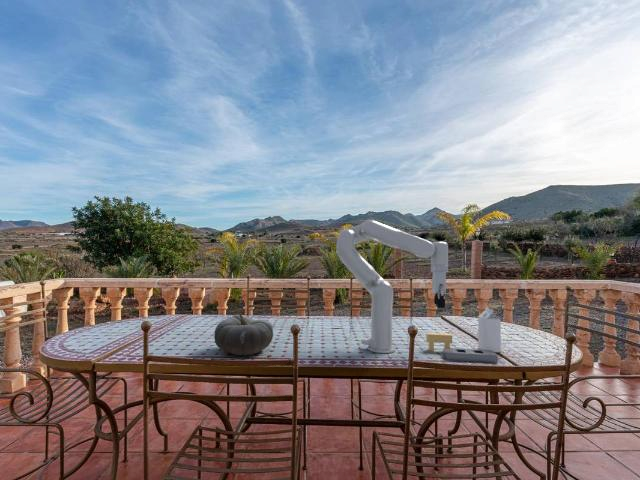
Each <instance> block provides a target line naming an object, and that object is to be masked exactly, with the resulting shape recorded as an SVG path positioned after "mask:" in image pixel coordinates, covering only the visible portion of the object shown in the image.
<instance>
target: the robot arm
mask: <svg viewBox="0 0 640 480" xmlns="http://www.w3.org/2000/svg"><path fill="white" fill-rule="evenodd" d="M367 240H368V241H369V240H372V241H375V242H378V243H380V244H382V245H385V246H387V247H391V248H393V249H398V250H403V251H406V252H409V253H412V254H414V255H415V256H416V257H418V258H420V259H421V258H423V259H424V258H425V259H428V258H430V272H431V273H432V277H431V278H432V280H431V282H432V283H431V285H432V286H431V292H432V293H434V296H433V299H434V300H433V302H434V305H435V306H436V305H437V308H438V309H445V308H446V297H445V296H446V292H447V275H446V273H448V272H449V244H448V242H446V241H434V242H432V241H429V240H427V239H425V238H421V237H420V236H416V235H413V234H411V233H407V232H405V231H403V230H399V229H397V228H394V227H392V226H389V225H387V224H383V223H381V222H379V221H376V220H373V219H367V220H365V221H364V222H362V223H359V224H357V225H354V226H352V227H349V228H345V229H342V230H340V232H339V233H338V235H337V240H336V245H335V247H336V252H337V255H338V258H339V261H341V262H342V264H343V265H344V266H345V267H346V268H347V270H349V272H351V274H353V276H354V278H355V280H356V281H357V282H358V283H359V284H360V285H361V286H362V287H363V288H364V289H365V290H366V292H368V293H369V294H370V295H371V306H370V309H371V311H370V312H371V313H370V315H371V316H370V317H371V319H370V323H371V326H370V328H371V329H370V339H369V338H368V339H361V340H360V341H361V342H360V344H361V345H364V346H365V345H366V346H367V351H370V352H373V353H377V354H391V353H393V352H395V351H396V347H395V346H394V345H393V305H394V304H393V303H394V288H393V286H392V285H391V284H390V283H389V282H388V281H386V280H385V279H384V278H383V277H382V276H381V275H380V274H379V273H378V272H377V271H376V270H375V268H374V266H373V265H371V264H370V263H369V262H367V260H366V259H365V258H364V257H363V256H362V255H361V254H360V253H359V251H358V250H357V248H356V246H355V245H357V244H361V243H362V242H365V241H367Z"/></svg>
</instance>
